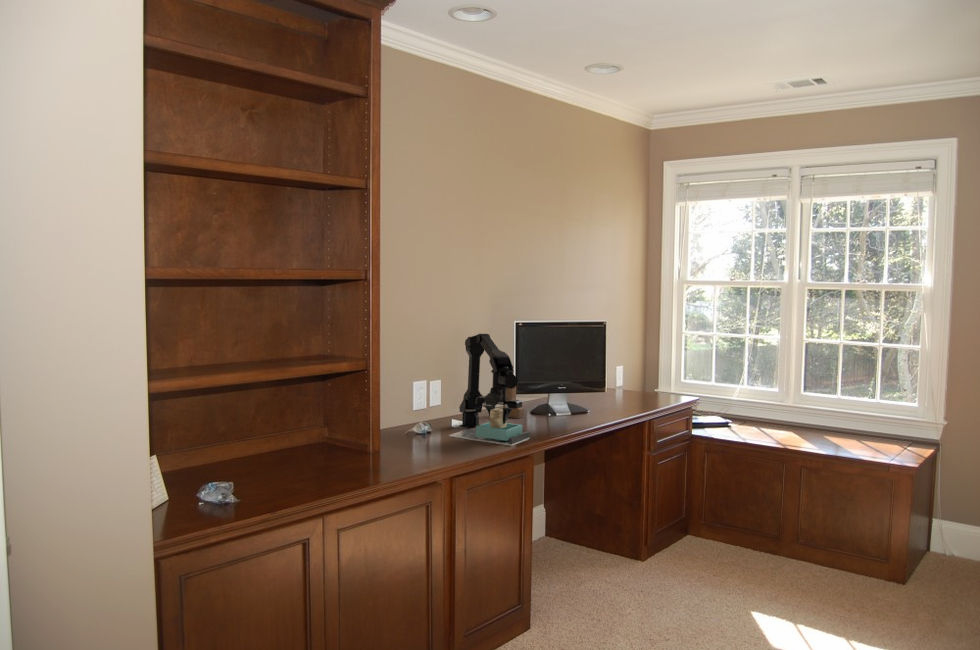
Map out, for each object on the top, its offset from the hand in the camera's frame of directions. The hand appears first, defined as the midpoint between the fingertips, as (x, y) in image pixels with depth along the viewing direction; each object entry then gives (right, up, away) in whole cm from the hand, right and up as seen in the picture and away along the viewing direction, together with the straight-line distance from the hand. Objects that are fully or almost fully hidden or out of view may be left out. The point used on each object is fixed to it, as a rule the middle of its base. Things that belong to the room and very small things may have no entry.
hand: (498, 423), depth 310 cm
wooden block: (+8, -4, +51) cm, 52 cm away
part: (0, -2, 0) cm, 2 cm away
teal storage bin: (0, -7, 0) cm, 7 cm away
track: (-4, -6, +2) cm, 8 cm away
